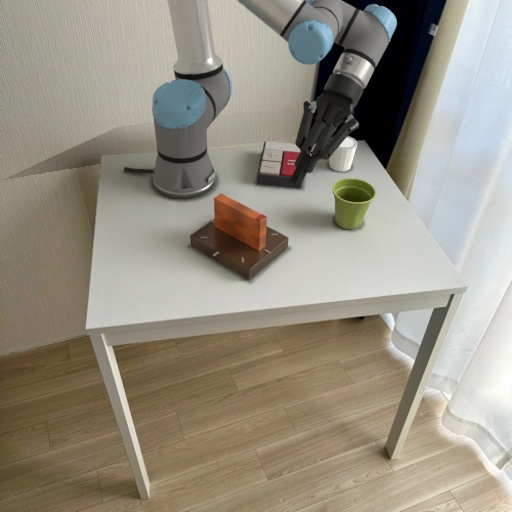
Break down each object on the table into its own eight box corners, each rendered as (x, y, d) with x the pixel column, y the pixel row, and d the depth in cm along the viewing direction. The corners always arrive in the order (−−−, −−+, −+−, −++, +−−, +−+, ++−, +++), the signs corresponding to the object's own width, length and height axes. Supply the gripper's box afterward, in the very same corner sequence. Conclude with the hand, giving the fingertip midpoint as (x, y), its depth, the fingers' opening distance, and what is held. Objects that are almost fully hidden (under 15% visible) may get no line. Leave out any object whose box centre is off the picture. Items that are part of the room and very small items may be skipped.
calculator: (257, 172, 126) (264, 138, 136) (256, 186, 129) (263, 152, 139) (302, 176, 125) (306, 142, 135) (301, 190, 128) (304, 156, 138)
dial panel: (184, 249, 109) (184, 238, 107) (234, 214, 119) (235, 203, 117) (244, 285, 102) (244, 274, 100) (292, 244, 112) (293, 233, 110)
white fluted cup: (354, 160, 138) (358, 137, 133) (351, 174, 133) (356, 150, 128) (328, 156, 139) (331, 133, 134) (325, 170, 134) (328, 146, 129)
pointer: (214, 226, 111) (213, 196, 105) (221, 221, 112) (221, 192, 107) (258, 251, 105) (260, 221, 100) (265, 245, 107) (267, 215, 101)
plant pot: (367, 237, 114) (375, 205, 109) (325, 230, 116) (330, 199, 110) (369, 212, 121) (377, 181, 115) (329, 206, 122) (334, 175, 117)
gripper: (315, 64, 107) (262, 166, 108) (371, 82, 101) (315, 190, 102) (326, 81, 114) (276, 177, 115) (379, 99, 108) (326, 200, 109)
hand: (294, 183), depth 109 cm, fingers closed
